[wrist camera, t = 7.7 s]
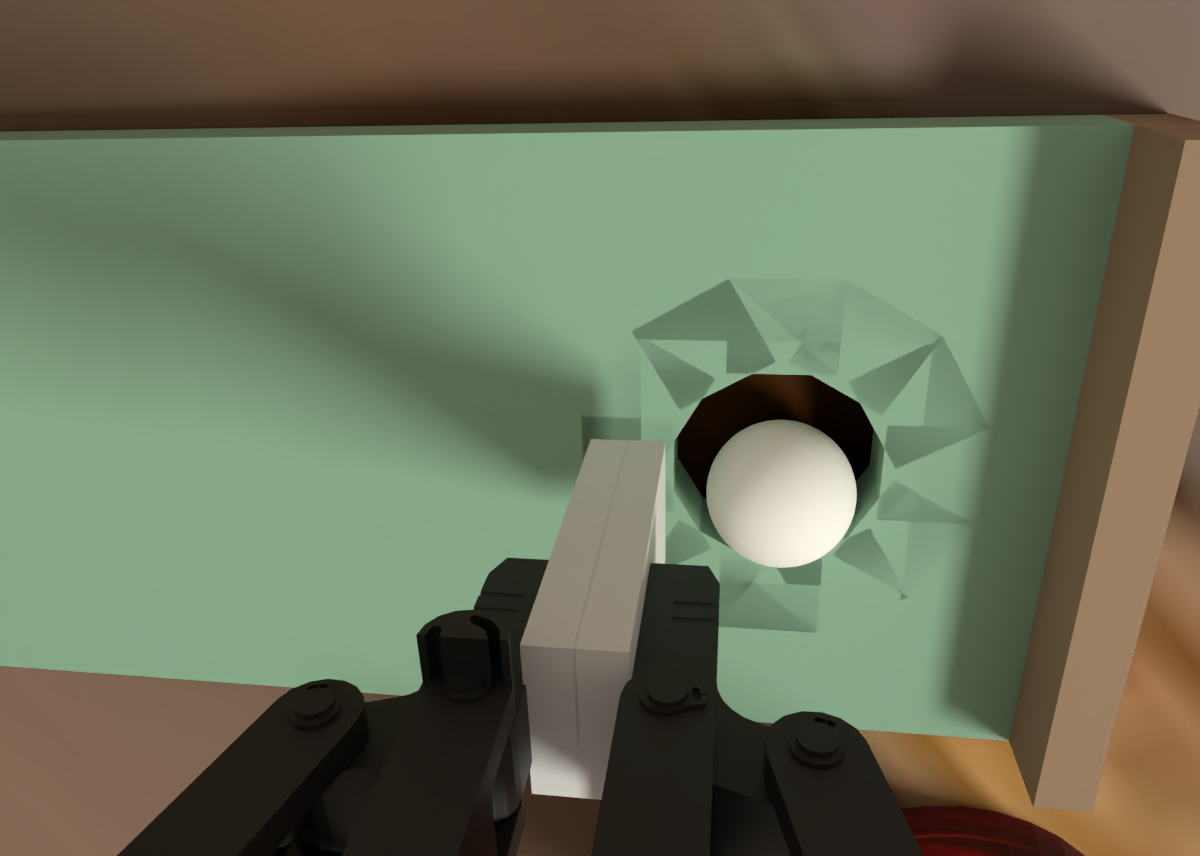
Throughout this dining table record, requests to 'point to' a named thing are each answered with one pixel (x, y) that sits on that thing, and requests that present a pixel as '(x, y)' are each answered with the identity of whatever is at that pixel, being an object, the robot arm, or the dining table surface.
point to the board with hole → (602, 394)
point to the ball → (781, 493)
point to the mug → (980, 834)
